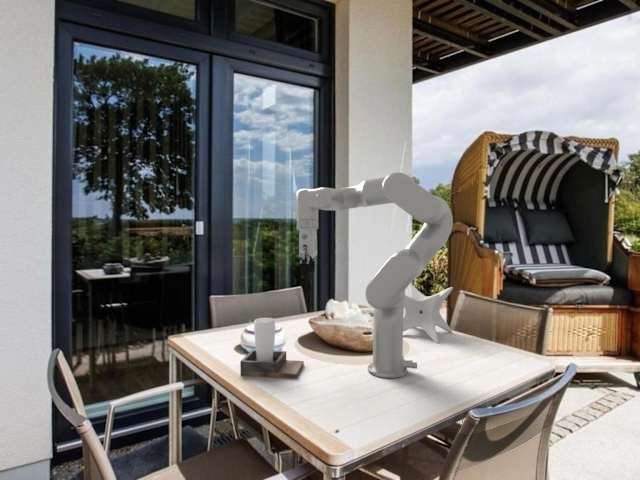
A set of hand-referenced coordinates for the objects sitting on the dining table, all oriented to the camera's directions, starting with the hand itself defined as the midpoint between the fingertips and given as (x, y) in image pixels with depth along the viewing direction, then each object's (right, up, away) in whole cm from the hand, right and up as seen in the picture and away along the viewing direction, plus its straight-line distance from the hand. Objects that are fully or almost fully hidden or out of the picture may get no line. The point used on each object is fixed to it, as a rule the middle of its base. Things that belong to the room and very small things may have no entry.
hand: (307, 273), depth 149 cm
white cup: (-14, -30, -9) cm, 34 cm away
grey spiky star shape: (+48, -29, +34) cm, 66 cm away
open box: (-11, -31, -10) cm, 34 cm away
